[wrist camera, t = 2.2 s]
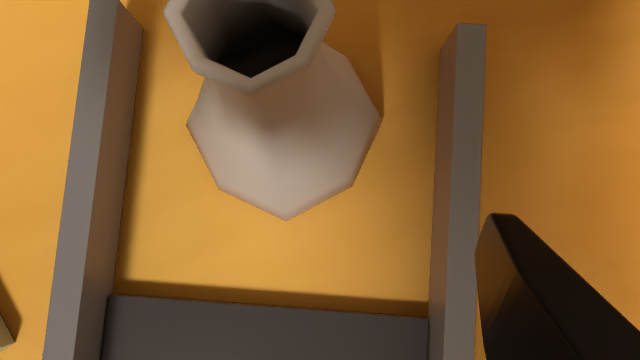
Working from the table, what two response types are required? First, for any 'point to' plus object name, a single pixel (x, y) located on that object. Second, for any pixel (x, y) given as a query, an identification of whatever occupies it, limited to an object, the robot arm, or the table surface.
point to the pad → (5, 336)
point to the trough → (242, 318)
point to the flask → (274, 101)
